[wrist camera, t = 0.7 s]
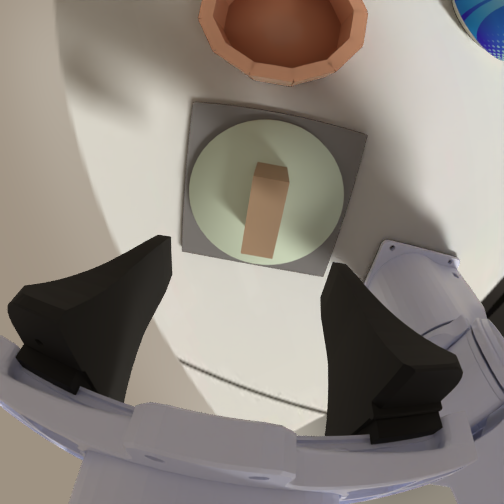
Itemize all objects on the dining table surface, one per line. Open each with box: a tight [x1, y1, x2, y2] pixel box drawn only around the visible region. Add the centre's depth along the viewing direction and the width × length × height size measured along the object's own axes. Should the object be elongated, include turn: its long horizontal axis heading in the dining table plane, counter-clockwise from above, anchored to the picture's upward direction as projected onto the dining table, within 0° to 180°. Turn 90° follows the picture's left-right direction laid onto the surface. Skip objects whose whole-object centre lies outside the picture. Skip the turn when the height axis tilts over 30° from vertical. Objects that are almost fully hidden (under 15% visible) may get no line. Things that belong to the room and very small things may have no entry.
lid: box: [189, 119, 344, 265], centre depth 18 cm, size 11×11×4 cm
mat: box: [182, 102, 367, 277], centre depth 20 cm, size 12×12×1 cm
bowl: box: [198, 0, 368, 86], centre depth 12 cm, size 9×9×4 cm
